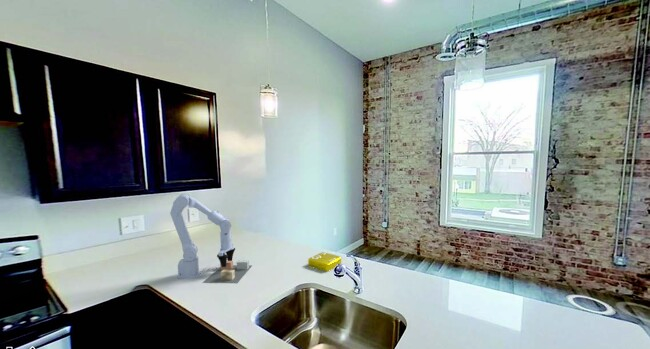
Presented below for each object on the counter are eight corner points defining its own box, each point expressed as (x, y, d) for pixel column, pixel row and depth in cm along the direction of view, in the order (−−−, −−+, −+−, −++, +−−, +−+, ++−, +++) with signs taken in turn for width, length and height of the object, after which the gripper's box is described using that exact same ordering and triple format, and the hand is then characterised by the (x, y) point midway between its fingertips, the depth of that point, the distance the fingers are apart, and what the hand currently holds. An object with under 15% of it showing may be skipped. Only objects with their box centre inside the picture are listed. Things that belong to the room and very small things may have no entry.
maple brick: (220, 279, 132) (220, 272, 132) (223, 277, 135) (223, 269, 135) (232, 279, 131) (232, 272, 131) (234, 277, 134) (234, 269, 134)
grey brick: (236, 269, 145) (236, 262, 144) (239, 267, 148) (238, 260, 147) (247, 269, 144) (247, 262, 144) (249, 267, 147) (249, 260, 147)
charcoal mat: (202, 283, 129) (202, 282, 129) (222, 265, 151) (222, 265, 151) (237, 284, 128) (237, 283, 128) (252, 266, 150) (252, 265, 150)
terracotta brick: (220, 269, 144) (220, 262, 144) (223, 267, 147) (222, 260, 147) (230, 269, 144) (230, 262, 144) (233, 267, 147) (232, 260, 147)
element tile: (327, 272, 140) (327, 264, 140) (306, 266, 150) (306, 258, 149) (342, 263, 152) (342, 256, 152) (322, 258, 161) (322, 250, 161)
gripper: (227, 244, 137) (228, 269, 138) (238, 236, 152) (238, 259, 152) (214, 244, 138) (215, 269, 138) (226, 236, 152) (227, 259, 153)
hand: (226, 263), depth 145 cm, fingers open, 7 cm apart
